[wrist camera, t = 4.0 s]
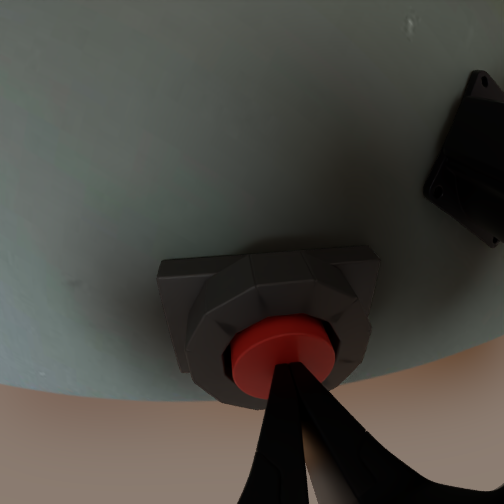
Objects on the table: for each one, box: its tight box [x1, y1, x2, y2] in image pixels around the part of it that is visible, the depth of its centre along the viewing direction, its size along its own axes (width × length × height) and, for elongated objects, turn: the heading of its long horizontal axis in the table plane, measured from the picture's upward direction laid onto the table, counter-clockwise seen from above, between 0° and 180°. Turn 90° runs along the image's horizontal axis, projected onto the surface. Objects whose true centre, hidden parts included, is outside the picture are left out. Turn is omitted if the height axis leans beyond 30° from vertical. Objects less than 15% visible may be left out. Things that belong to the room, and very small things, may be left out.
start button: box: [230, 313, 335, 399], centre depth 10 cm, size 3×3×2 cm
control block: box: [156, 246, 381, 410], centre depth 11 cm, size 8×6×3 cm
